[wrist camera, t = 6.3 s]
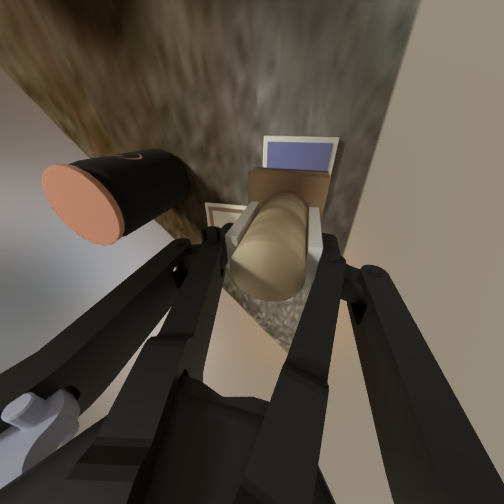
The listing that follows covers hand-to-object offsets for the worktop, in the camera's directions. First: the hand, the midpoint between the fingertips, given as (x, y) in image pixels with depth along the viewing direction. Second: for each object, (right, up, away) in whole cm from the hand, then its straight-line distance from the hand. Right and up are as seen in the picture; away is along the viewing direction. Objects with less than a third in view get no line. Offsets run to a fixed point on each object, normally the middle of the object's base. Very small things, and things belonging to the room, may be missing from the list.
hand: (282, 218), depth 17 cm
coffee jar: (-20, +12, +21) cm, 32 cm away
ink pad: (+5, +10, +15) cm, 19 cm away
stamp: (+1, +2, +3) cm, 4 cm away
